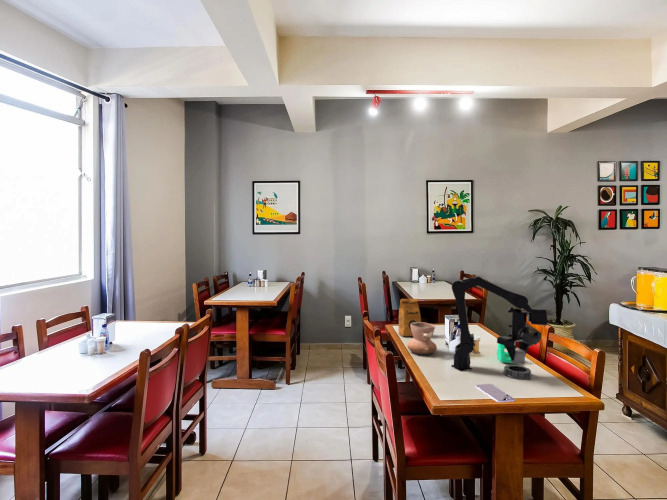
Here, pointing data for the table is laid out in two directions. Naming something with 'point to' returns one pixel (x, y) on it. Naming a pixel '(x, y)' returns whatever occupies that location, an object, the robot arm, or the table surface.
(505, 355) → the camera mount
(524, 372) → the dark grey ashtray
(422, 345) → the ceramic jug
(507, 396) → the mobile phone
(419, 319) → the coffee package
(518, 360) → the cap
